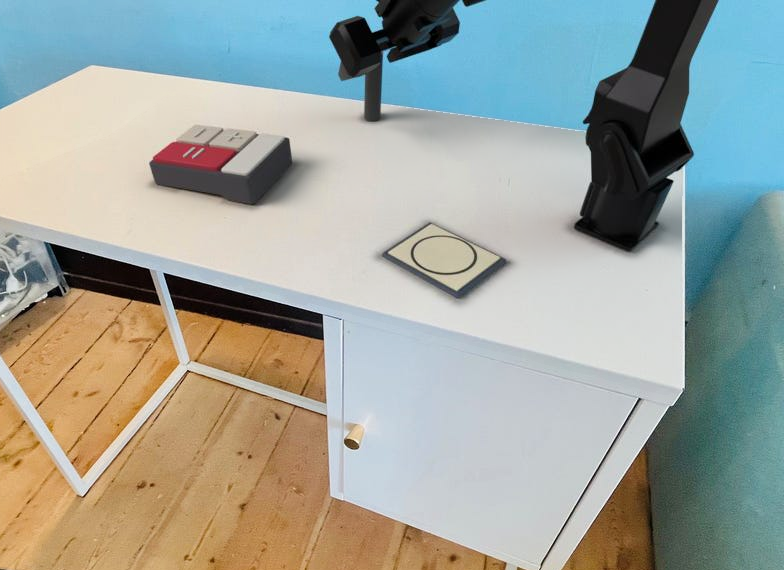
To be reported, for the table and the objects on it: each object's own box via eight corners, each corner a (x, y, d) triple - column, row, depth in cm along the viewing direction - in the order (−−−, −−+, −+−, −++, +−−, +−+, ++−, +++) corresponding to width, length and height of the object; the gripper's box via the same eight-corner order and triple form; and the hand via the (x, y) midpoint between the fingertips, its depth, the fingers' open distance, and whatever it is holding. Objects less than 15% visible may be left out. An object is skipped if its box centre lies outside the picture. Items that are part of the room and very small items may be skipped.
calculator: (193, 120, 78) (290, 131, 72) (200, 150, 81) (293, 163, 76) (145, 157, 71) (247, 172, 66) (155, 188, 74) (253, 205, 69)
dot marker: (384, 117, 84) (387, 44, 77) (372, 123, 83) (374, 49, 76) (371, 112, 85) (374, 40, 78) (360, 118, 84) (361, 45, 77)
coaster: (505, 262, 59) (507, 257, 58) (458, 298, 55) (459, 293, 55) (429, 225, 64) (430, 220, 64) (381, 256, 61) (382, 251, 60)
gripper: (454, -87, 69) (386, -1, 83) (338, -57, 61) (285, 32, 76) (495, -1, 70) (421, 70, 84) (385, 38, 63) (324, 108, 77)
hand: (365, 68), depth 80 cm, fingers open, 9 cm apart
